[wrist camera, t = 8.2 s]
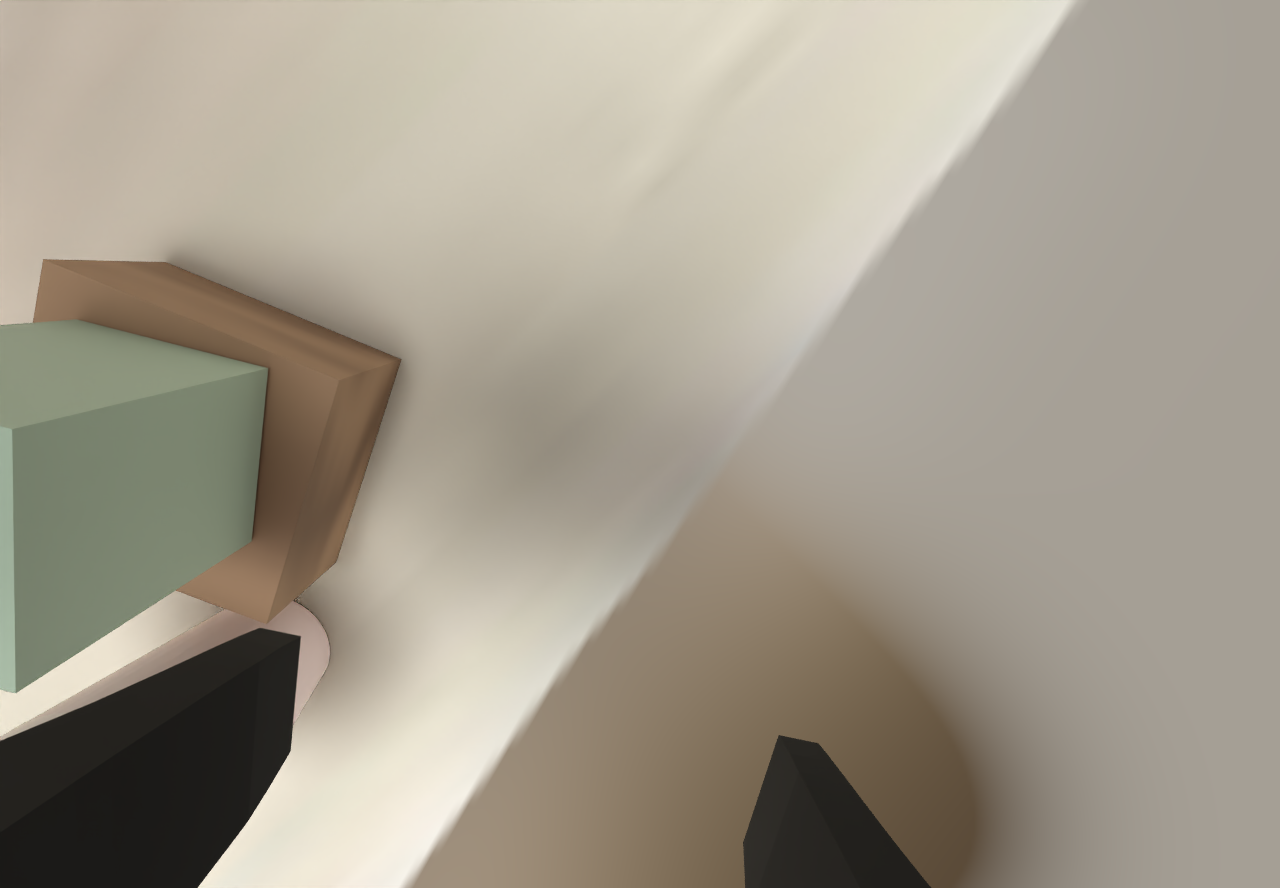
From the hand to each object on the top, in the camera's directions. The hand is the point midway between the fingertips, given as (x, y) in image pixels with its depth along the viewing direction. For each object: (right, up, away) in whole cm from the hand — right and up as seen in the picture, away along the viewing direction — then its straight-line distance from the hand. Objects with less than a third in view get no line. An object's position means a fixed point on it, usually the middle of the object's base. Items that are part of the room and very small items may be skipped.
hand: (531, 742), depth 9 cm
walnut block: (-10, +5, +10) cm, 15 cm away
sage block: (-10, +5, +6) cm, 12 cm away
